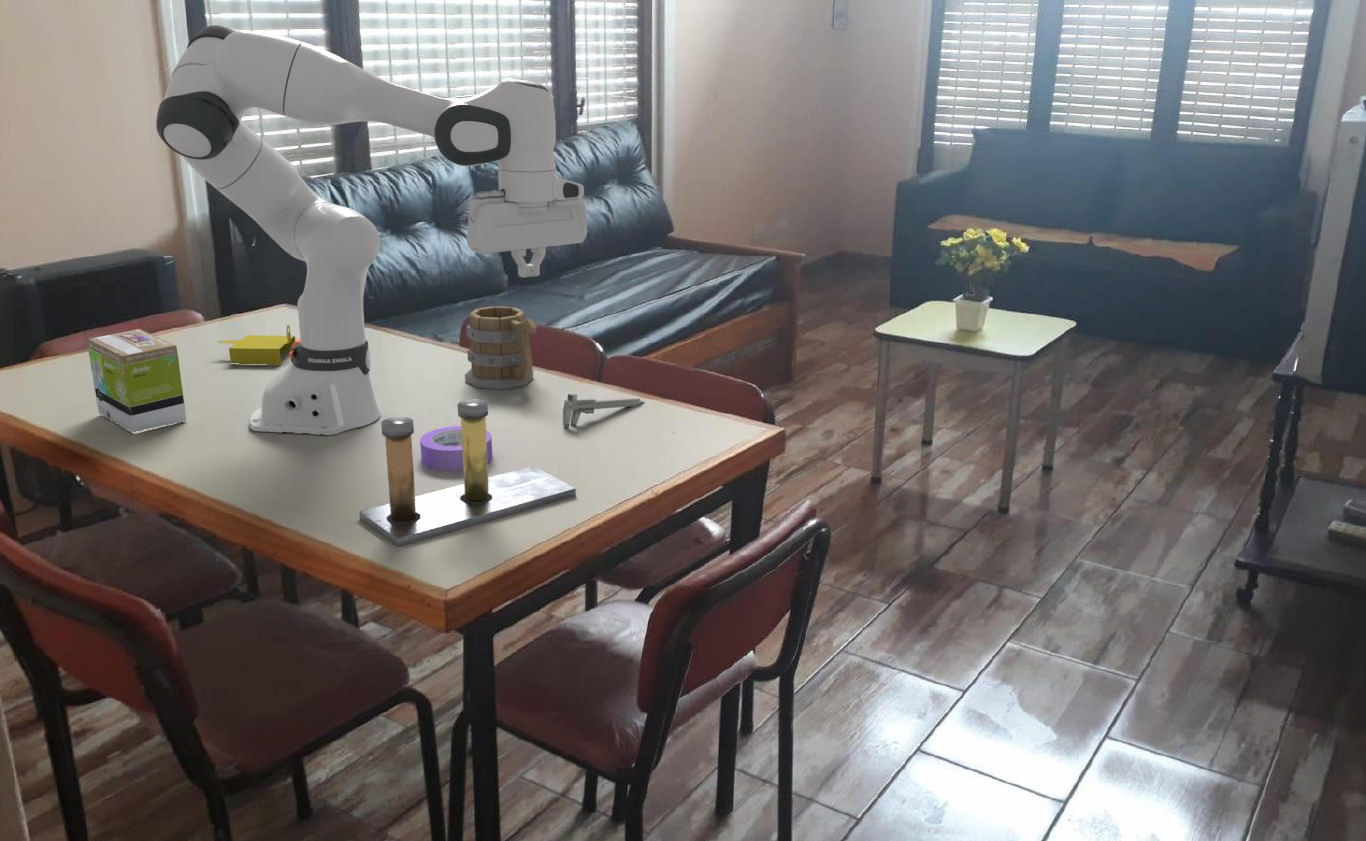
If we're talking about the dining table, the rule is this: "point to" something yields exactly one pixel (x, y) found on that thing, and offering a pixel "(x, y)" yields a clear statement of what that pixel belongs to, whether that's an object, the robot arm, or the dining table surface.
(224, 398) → the dining table surface
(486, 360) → the tankard
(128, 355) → the tea box
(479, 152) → the robot arm
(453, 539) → the dining table surface
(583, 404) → the caliper
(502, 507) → the plate
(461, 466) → the masking tape
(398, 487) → the fixed pin
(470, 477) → the pin
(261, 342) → the bracket
